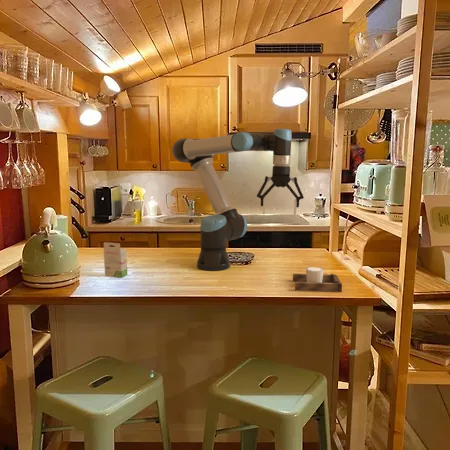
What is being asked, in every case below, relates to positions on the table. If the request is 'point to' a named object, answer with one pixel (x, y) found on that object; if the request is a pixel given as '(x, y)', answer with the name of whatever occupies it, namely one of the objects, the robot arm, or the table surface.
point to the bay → (329, 284)
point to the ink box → (115, 260)
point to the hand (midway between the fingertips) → (279, 214)
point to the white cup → (314, 274)
